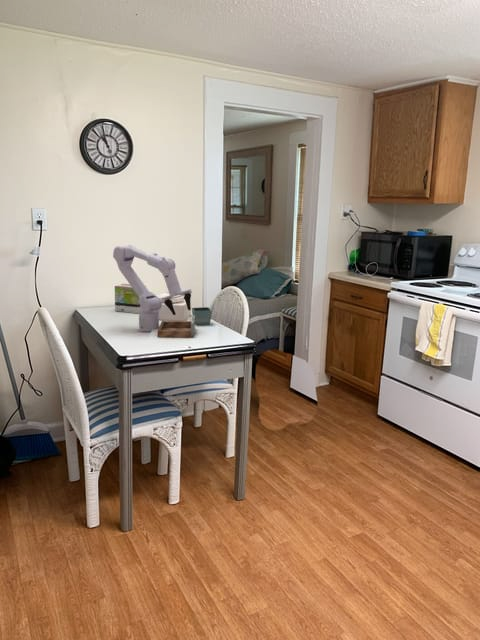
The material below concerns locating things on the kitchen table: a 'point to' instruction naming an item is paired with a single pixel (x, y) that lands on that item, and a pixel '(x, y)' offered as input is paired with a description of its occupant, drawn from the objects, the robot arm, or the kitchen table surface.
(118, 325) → the kitchen table surface
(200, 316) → the flower pot
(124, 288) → the tea box
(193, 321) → the panel
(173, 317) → the white lidded container
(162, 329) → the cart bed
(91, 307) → the kitchen table surface
